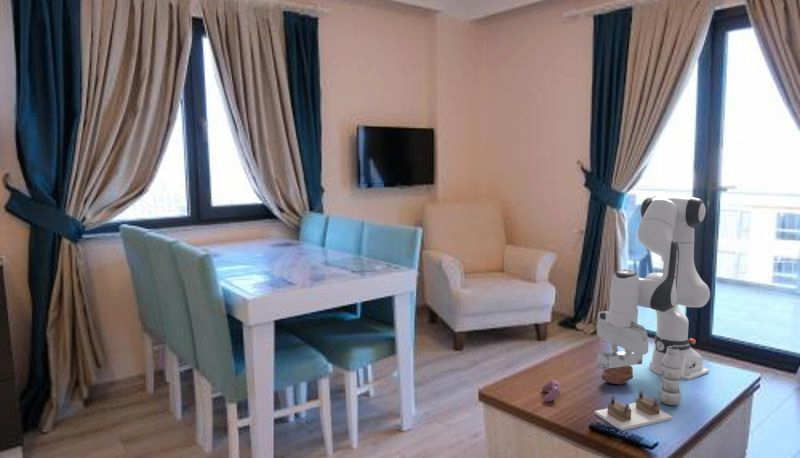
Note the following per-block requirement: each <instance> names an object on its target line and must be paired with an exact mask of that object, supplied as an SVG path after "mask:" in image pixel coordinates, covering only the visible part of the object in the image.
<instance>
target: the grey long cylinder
mask: <svg viewBox="0 0 800 458" xmlns="http://www.w3.org/2000/svg"><path fill="white" fill-rule="evenodd" d="M625 353H626V352H625V350H620V351H619V352H613V351H612V352H607V353H598V354H597V364H596V366H597V368H598V369H601V370H604V369H609V368H615V367H622V366H629V365H631V366H635V365H643V359H644V357H643V356H644V355H637V354H635V353H633V352H632V354H631V355H630V356H629V361H628V362H625V361H623V360H622V355H625Z"/></svg>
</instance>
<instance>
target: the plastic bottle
mask: <svg viewBox="0 0 800 458" xmlns="http://www.w3.org/2000/svg"><path fill="white" fill-rule="evenodd" d="M666 353H667V354H666V355H665V356H664V357H663V358H662V360H661V366H662V375H661V376H662V377H661V386H660V389H659V395H658V397H659V401H661V403H662V404H664V405H667V406H668V405H669V406H678V405H680V403H681V400H682V396H681V390H680V389H681V387H680V385H681V384H680V381H681V380H680V379H681V378H680V375H681V371H682V366H683V364H682V361H681V359H680V358H679V356H678V355H679V348H677V347H673V346H668V347H667V351H666Z"/></svg>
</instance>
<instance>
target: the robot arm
mask: <svg viewBox="0 0 800 458" xmlns="http://www.w3.org/2000/svg"><path fill="white" fill-rule="evenodd" d="M706 210H707V209H706V203H704V201H703V200H702V199H701V198H698V197H694V196H692V197H689V196H688V197H687V196H680V195H668V196H664V195H663V196H656V195H654V196H648V197H646V198H644V200H643V201H642V203H641V205H640V215H641V221H640V224H639V227H638V229H637V230H638V231H637V238H638V240H639V243H640V244H641V245H642V246H643V247H644V248H645V249H646V250H648V251H649V252H651V253H654V254H656V255H658V256H660V257H661V260H662V262H663V266H662V272H650V273H648V274H647V275H646V276H645V277H639V274H638V272H637V271H636V270H633V269H627V268H626V269H618V270H617V271H614V273H613V275H612V278H611V285H610V292H609V293H610V294H609V298H610V305H609V308H608V309H609V310H604V311H598V313H597V317H598V320H597V323H596V324H597V325H596V334H597V337H598V338H600V339H602V340H604V341H606V342H608V343H610V344H609V346H610V348H611V351H612V352H620V351H619V349H618V347H620V348H622V349H624V351H625V352H626V353H625V355H622V360H623V361H625V362H628V361H629V356H630V355H631V354H632V352H633V353H635V354H637V355H643V356H645V355H646V354H648V353H649V337H648V331H647V330H646V328H645V326H644V325H640V324H638V320H639V319H638V316H639V309H638V307H643V308H648V309H652V310H655V313H656V333H655V337H654V344H655V345H654V346H653V351H652V355H651V356H652V357H651V360H650V361H649V364H650V366H649V369H650V370H651V371H652V372H654V373H655V374H658V375H661V376H662V366H661V360H662V358H663V357H664V356H665V355H666V354H667V353H666V351H667V347H668V346H673V347H677V348H679V355H678V356H679V358H680V359H681V361H682V364H683V366H682V371H681V375H680V379H683V380H687V381H688V380H693V379H695V378H698V377H701V376H704V375H706V374H708V373H710V370H709V368H707V366H705V365H703V358H702V357H703V356H701V354H700V353H698V352H697V351H696V350H694V348H692V347H691V344H692V345H695V344H696V339H694V338H692V337H690V338H688V336H689V318H688V317H687V315H685V314H684V312H683V311H681V309H680V307H679V306H682V307H687V308H702V307H704V306H705V305H707V303H708V302H709V300H710V297H711V291H710V288H709V285H708V284H707V283H706V282H704V280H702V278H701V276H700V274H699V273H698V271H697V269H696V265H695V259H694V257H695V256H694V255H695V252H694V251H695V228H696V227H697V226H699V225H700V224H701V223H702V222H703V221H704V220H705V216H706Z"/></svg>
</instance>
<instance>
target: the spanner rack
mask: <svg viewBox="0 0 800 458" xmlns="http://www.w3.org/2000/svg"><path fill="white" fill-rule="evenodd" d="M615 397H616V396H614V395H610V402H609V403H607V408H602V409H598V410H594V414H595V415H596V416H598V417H599V418H601V419H603V420H604V421H605V422H608V423H609V424H610V425H612V426H613V427H615V428H617V429H618V428H619V429H618V430H620V429H621V430H622V431H626V430H630V429H635V428H640V427H645V426H649V425H654V424H658V423H662V422H667V421H670V420H671V421H672V420H673V419H674V418H673V416H672V415H670V414H668V413H667V412H665V411H663V410H662V409H661V408H660V407H661V403H659V398H657V397H654V398H653V399H652V398H651V397H648V396H646V395H645V396H644V391H643V390H641V389H639V390H638V397H636V398H635V399H636V400H635V401H636V402H633V403H625V404H623V403H621V402H619V401H615ZM621 430H620V431H621Z"/></svg>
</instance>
